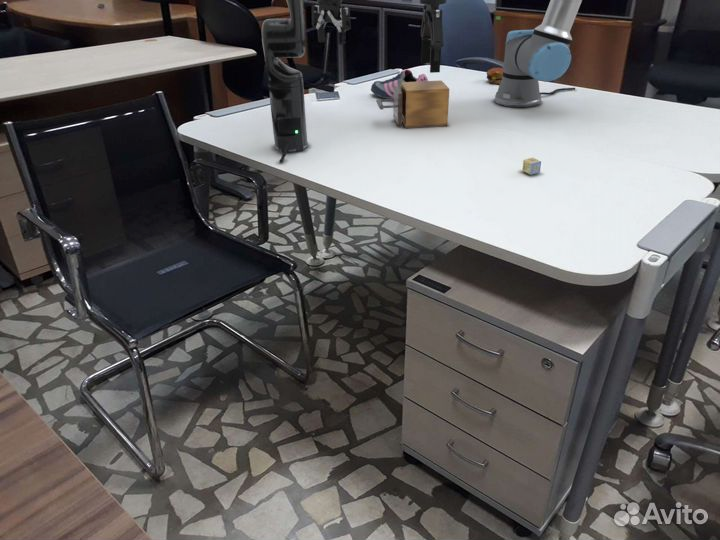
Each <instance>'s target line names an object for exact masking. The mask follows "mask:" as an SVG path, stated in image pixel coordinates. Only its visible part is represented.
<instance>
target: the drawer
mask: <svg viewBox="0 0 720 540" xmlns="http://www.w3.org/2000/svg"><path fill="white" fill-rule="evenodd" d="M375 101H376V104H377V106H378V108H379V110H382V111H383V110H384V109H392V110H393V111H392V112H393V114H392V116H393V118H394V121H395V122H396V124H397V125H398V126H402V124H403V122H402V117H403V119H404V120H405V122H406V92H405V90H404V89H403V87H402V93H401V91H400V90H399V88H398V87H397V86H393V99H386V98H385V99H381V98H376V100H375ZM384 103H393V104H392V105H390V104H389V105H384Z"/></svg>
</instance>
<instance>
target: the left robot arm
mask: <svg viewBox="0 0 720 540" xmlns="http://www.w3.org/2000/svg"><path fill="white" fill-rule="evenodd" d="M285 1H286V5H287V8H288V11H289V17H290V18H267V19H264V21H263V22H262V26H261V44H262V49H263V55H264V62H265V63H264V64H265V69H266V77H267V83H268V84H267V85H268V93H269V105H270V113H271V114H270V115H271V124H272V133H273V142H274V144H273V146H274V150H276V151H279V152H280V153H281V157H280V159H279V163H281V164H282V163H283V162H284V160H285V158H286V155H287V153H294V152H296V153H297V152H304V150H305V149H307V148H308V147H309V142H308V131H307V118H306V116H307V115H306V104H305V89H304V88H305V87H304V76H303V73H302V72H301V71H300V70H298V69H295V68H293V67H290V66H289V65H287V64H285V63H284V62H283V61H282V60H281V59H282V58H283V59H285V58H287V59H288V58H289V59H290V58H291V59H293V58H302V57H303V56H304V55H305V54H306V49H307V34H306V32H307V31H306V22H305V12H304V11H305V10H304V1H303V0H285ZM316 1H317V3H318V4H315V5H312V6H311V27H312V28H315V29H316V30H317V31H316V32H317V41H318V43H325V42H326V29H325V27H326V25H327V23H330V24H333V25H334V26H335V27H336V29H337V31H338V32H337V41H338V42H337V43H338V46H344V45H345V44H346V41H347V40H346V39H347V37H346V36H347V35H346V32H347V31H349V30H351V29H352V25H351V24H352V22H351V10H350V8H349V7H342V5H341V4H342V2H343V0H316Z"/></svg>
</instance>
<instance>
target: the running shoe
mask: <svg viewBox="0 0 720 540" xmlns="http://www.w3.org/2000/svg"><path fill="white" fill-rule="evenodd" d="M419 81H429V78H428V77H427V75H426V74H425V73H422V74H419V75H418V77H416V76H414V75H413V72H412V71H411V70H410V69H404V70H402V71H400V73H398V74H397V75H396V76H394V77H391V78H388V79H385V80H382V81H381V80H375V81H374V82H373V83H372V84H371V86H370V91H371V93H372V94H373V95H375V96H377V97H379V98H383V99H385V100H386V99H393V86H397V87H398V88H399V90H400V91H401V82H419Z"/></svg>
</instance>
